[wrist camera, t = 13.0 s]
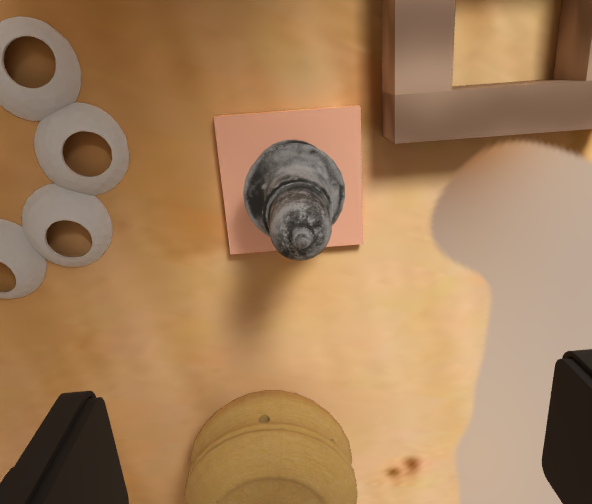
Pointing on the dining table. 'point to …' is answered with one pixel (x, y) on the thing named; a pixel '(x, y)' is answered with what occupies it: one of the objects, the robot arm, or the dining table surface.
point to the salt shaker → (295, 197)
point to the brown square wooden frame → (476, 98)
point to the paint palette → (56, 161)
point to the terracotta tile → (272, 129)
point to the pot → (271, 454)
